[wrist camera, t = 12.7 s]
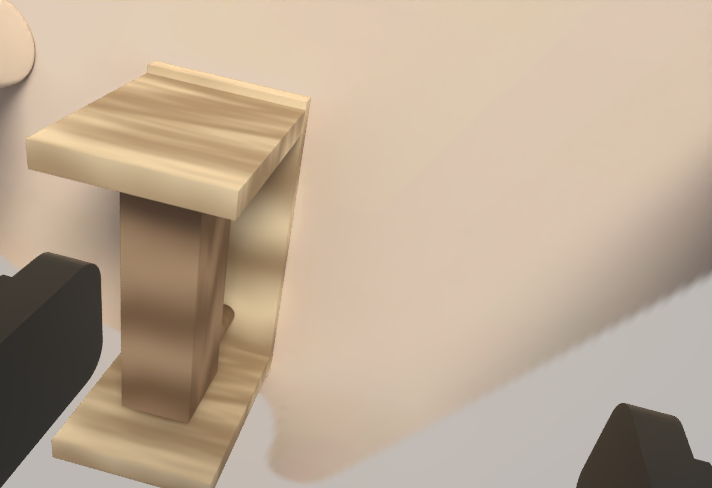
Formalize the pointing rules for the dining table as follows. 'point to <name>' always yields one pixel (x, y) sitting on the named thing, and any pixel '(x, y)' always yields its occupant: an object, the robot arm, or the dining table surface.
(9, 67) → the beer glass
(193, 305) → the shelf board
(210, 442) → the peg jig
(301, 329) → the dining table surface
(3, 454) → the robot arm
